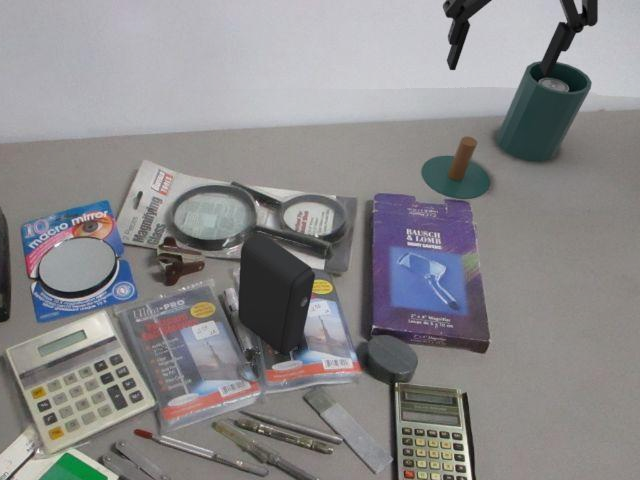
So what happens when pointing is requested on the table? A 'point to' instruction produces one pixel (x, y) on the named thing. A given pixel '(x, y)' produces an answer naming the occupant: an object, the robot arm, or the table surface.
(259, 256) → the black rectangular block
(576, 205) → the table surface
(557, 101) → the tin
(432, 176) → the tin lid
